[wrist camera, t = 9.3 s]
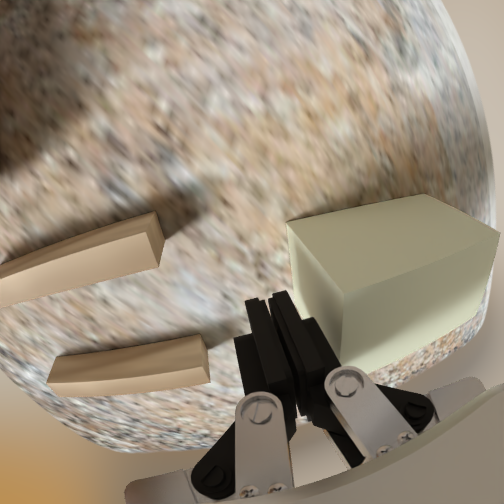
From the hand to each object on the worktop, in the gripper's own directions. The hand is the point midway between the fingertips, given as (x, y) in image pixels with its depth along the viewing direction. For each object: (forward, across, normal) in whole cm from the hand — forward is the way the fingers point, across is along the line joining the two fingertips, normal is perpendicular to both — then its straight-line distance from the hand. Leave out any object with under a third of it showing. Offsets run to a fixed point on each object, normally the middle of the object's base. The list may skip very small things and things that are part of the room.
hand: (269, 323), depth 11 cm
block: (+4, -6, 0) cm, 7 cm away
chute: (+4, +9, 0) cm, 10 cm away
